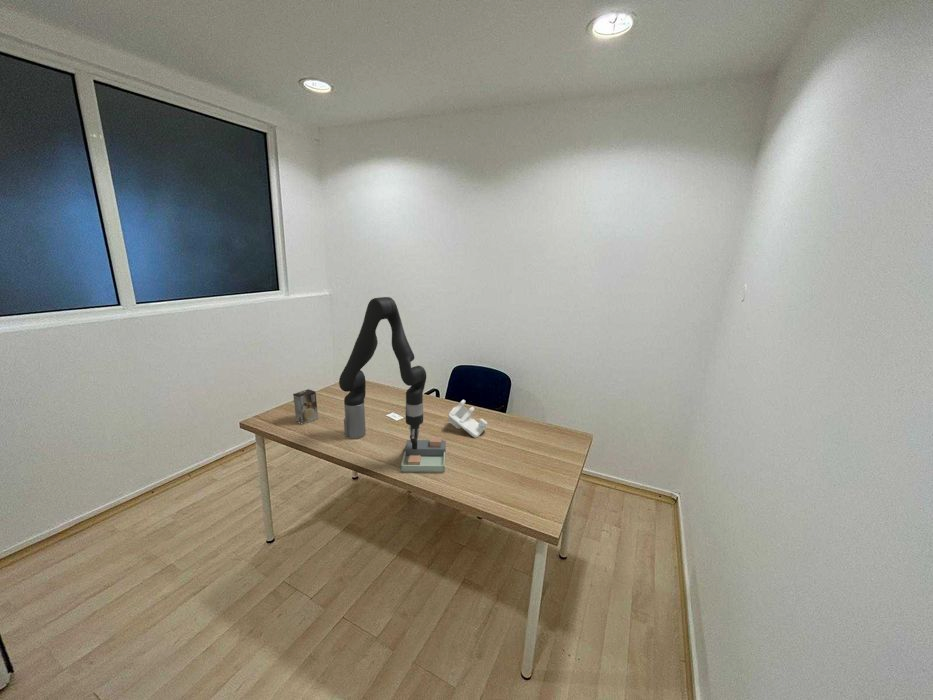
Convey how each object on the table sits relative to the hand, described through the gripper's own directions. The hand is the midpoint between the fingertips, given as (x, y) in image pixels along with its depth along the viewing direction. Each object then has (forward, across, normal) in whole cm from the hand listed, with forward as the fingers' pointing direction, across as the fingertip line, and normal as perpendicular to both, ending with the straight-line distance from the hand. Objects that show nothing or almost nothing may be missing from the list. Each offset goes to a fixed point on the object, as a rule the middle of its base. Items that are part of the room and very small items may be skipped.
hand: (414, 448), depth 155 cm
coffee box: (+5, -36, -62) cm, 72 cm away
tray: (+5, +5, +4) cm, 8 cm away
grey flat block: (+5, -5, +4) cm, 9 cm away
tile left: (+2, +5, 0) cm, 5 cm away
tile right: (+1, -6, +9) cm, 11 cm away
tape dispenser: (+5, -27, +24) cm, 37 cm away
